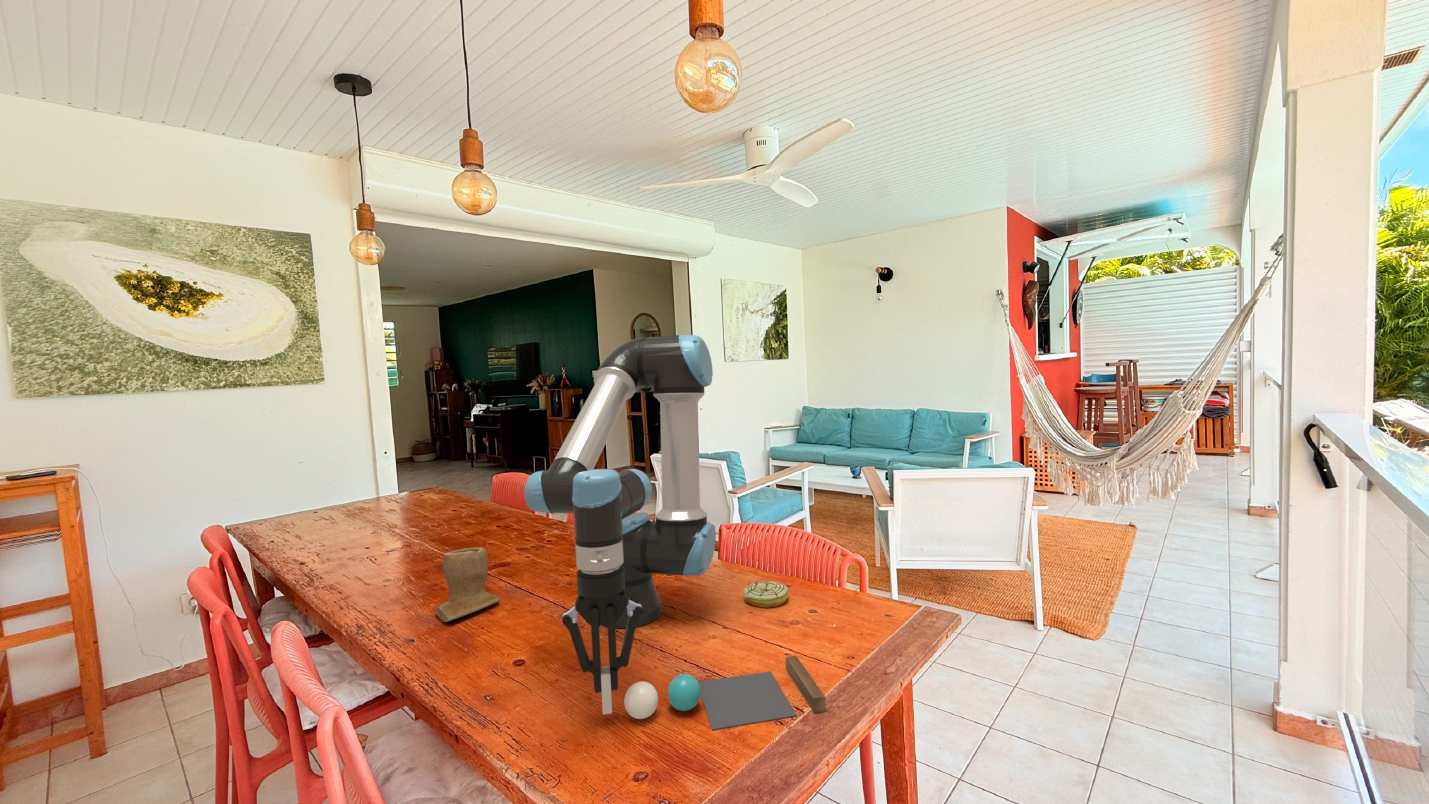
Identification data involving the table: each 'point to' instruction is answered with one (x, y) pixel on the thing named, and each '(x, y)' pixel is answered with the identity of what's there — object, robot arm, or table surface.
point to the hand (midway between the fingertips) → (607, 708)
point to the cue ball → (641, 700)
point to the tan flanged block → (465, 583)
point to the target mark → (744, 700)
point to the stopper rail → (806, 684)
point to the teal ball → (684, 692)
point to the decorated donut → (766, 594)
